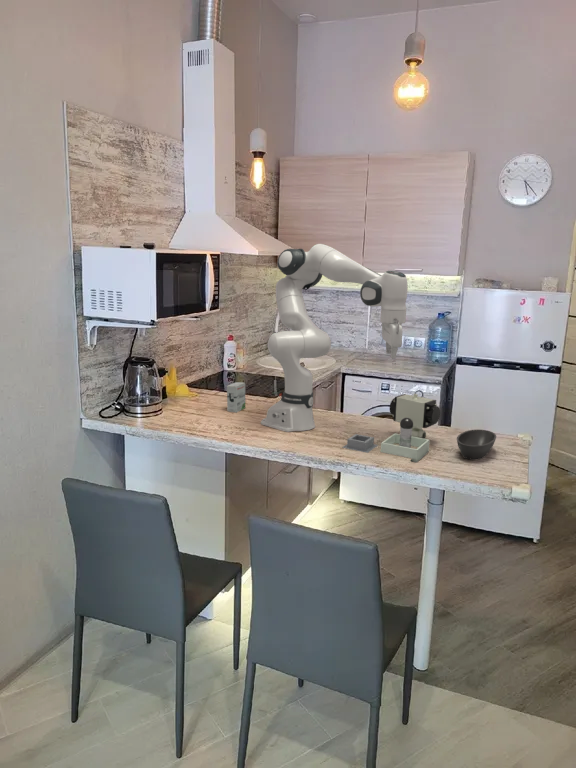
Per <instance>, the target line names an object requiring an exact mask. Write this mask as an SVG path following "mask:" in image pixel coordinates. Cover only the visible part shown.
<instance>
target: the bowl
mask: <svg viewBox="0 0 576 768" xmlns="http://www.w3.org/2000/svg"><path fill="white" fill-rule="evenodd" d="M496 439H497V434H496V433H495V432H493V431H491V430H486V429H470V430H469V429H468V430H466V431H463V432H461V433H460V434H458V435H457V436H456V443H457V446H458V449H459V452H460V453H461V455H462V457H463V458H464V459H467V460H472V461H475V460H477V461H478V460H481V459H483V458H485V457H486V456H487V455H488V454H489V452H490V451H491V450H492V448H493V447H494V444H495V442H496Z"/></svg>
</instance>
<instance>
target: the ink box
mask: <svg viewBox="0 0 576 768" xmlns="http://www.w3.org/2000/svg"><path fill="white" fill-rule="evenodd" d="M226 395H227V396H226V398H227V399H226V402H227V403H226V406H227V408H226V409H227V412H229V413H230V412H231V413H235V414H236V413H238V412H240V411H243V410H245V409H246V383H245V382H240V381H239V382H236V381H235V382H233V383H230V384H228V385H227V386H226Z"/></svg>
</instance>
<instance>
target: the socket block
mask: <svg viewBox="0 0 576 768" xmlns="http://www.w3.org/2000/svg"><path fill="white" fill-rule="evenodd" d="M374 441H375V437H374V436H373V437H372V436H367V435H362V434H357V433H356V434H353V435H352V436H351V437H348V438H347V440H346V444H345V445H343V446H342V449H347V450H352V451H357V452H361V453H367V454H368V453H370V452H371V451H373V450H374V449H375V448H377V447H378V446H379V444H375V443H374Z"/></svg>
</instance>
